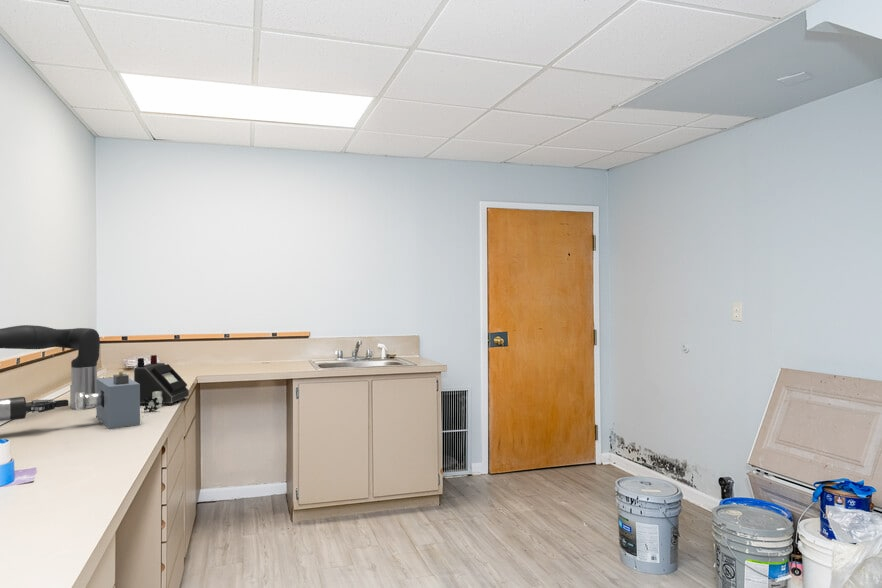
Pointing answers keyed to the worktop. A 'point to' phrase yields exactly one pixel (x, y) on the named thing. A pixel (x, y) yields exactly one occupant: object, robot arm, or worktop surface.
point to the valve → (154, 401)
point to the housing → (118, 403)
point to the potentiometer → (121, 378)
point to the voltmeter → (159, 381)
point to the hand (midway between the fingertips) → (68, 402)
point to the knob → (88, 400)
